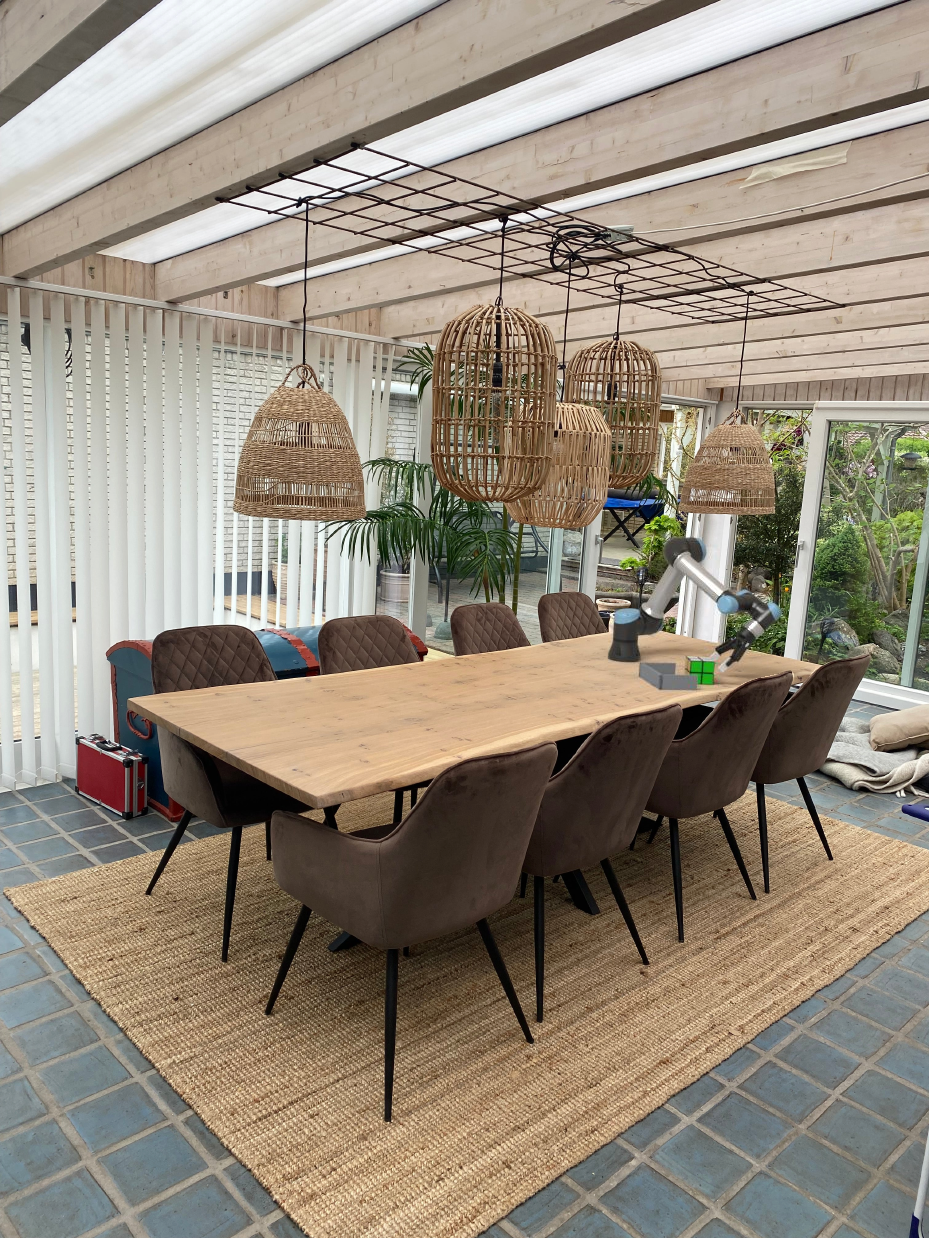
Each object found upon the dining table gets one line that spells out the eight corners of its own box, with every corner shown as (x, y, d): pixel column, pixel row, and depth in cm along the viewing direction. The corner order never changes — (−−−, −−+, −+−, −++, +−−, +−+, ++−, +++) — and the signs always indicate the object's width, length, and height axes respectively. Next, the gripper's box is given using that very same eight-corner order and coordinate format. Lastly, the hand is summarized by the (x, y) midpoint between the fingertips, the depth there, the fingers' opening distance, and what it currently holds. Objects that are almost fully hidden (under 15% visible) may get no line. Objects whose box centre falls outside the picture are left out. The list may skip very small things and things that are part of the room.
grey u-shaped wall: (638, 676, 381) (639, 662, 380) (673, 676, 383) (674, 662, 382) (659, 689, 356) (660, 675, 355) (696, 690, 358) (697, 675, 358)
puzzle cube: (707, 680, 379) (709, 657, 378) (713, 685, 369) (715, 661, 368) (683, 679, 380) (685, 656, 378) (689, 684, 370) (690, 660, 368)
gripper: (769, 644, 362) (731, 679, 363) (742, 633, 387) (707, 667, 387) (758, 630, 361) (719, 666, 361) (732, 621, 385) (696, 655, 386)
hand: (713, 667), depth 374 cm, fingers open, 13 cm apart
